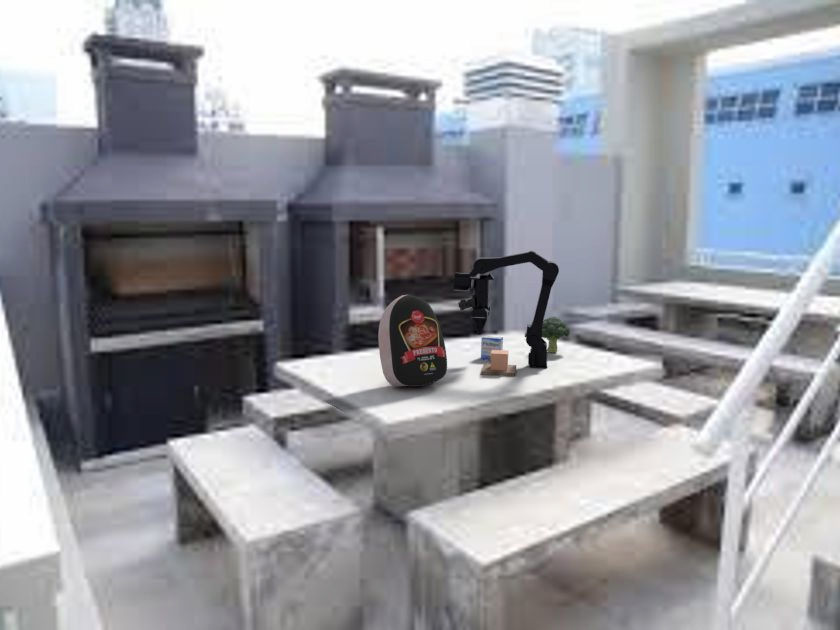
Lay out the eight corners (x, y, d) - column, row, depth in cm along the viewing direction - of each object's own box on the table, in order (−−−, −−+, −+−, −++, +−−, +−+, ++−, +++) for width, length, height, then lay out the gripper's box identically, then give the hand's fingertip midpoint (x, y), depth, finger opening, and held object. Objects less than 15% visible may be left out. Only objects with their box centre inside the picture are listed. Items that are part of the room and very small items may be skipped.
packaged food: (401, 396, 215) (401, 302, 210) (368, 383, 231) (367, 295, 226) (455, 386, 228) (456, 297, 223) (420, 374, 244) (421, 290, 239)
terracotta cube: (507, 366, 251) (508, 350, 250) (507, 370, 245) (507, 354, 244) (491, 365, 252) (491, 349, 251) (490, 369, 246) (490, 353, 245)
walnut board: (516, 368, 253) (516, 365, 253) (515, 376, 242) (515, 373, 241) (483, 366, 255) (483, 363, 255) (481, 374, 244) (481, 371, 243)
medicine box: (480, 359, 268) (481, 337, 266) (482, 356, 272) (483, 335, 270) (500, 360, 265) (501, 338, 264) (502, 358, 269) (503, 336, 268)
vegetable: (535, 348, 286) (536, 313, 284) (566, 349, 286) (567, 314, 283) (539, 355, 274) (540, 318, 272) (571, 356, 274) (572, 319, 271)
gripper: (462, 287, 266) (461, 327, 269) (456, 294, 248) (456, 336, 251) (491, 288, 264) (490, 328, 267) (487, 295, 246) (486, 337, 249)
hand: (480, 332), depth 258 cm, fingers open, 9 cm apart
